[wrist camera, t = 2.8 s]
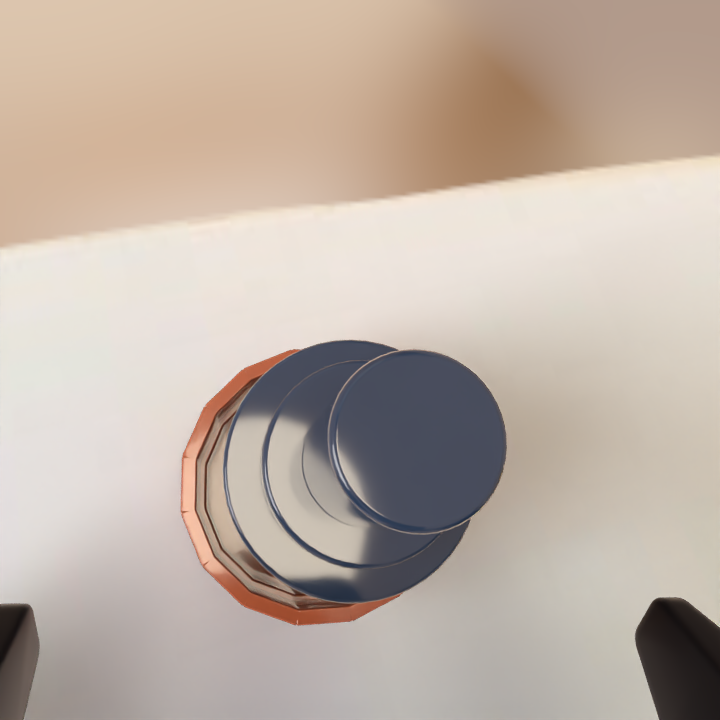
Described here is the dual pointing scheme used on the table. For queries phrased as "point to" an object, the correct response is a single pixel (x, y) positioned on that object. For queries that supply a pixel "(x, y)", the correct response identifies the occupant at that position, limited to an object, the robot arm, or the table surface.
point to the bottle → (361, 467)
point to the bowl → (215, 526)
